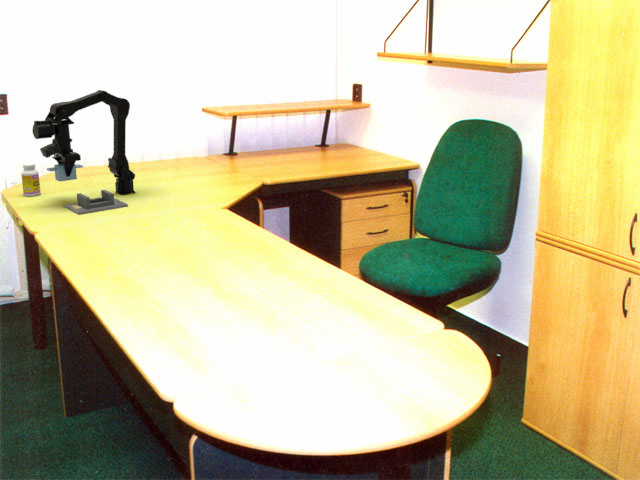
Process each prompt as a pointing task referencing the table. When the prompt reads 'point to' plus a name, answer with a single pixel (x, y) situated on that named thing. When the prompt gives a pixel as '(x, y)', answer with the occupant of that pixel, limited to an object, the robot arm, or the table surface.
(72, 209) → the chassis plate
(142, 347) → the table surface
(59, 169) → the block
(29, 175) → the supplement bottle
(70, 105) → the robot arm
